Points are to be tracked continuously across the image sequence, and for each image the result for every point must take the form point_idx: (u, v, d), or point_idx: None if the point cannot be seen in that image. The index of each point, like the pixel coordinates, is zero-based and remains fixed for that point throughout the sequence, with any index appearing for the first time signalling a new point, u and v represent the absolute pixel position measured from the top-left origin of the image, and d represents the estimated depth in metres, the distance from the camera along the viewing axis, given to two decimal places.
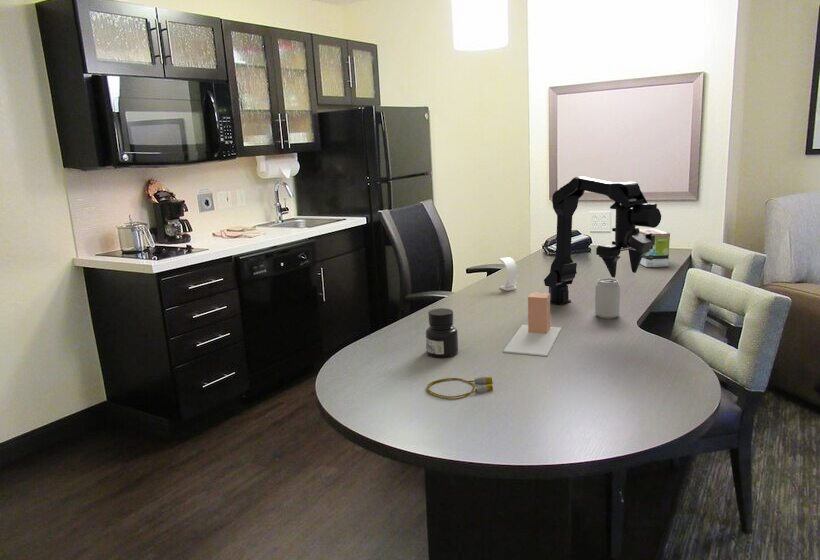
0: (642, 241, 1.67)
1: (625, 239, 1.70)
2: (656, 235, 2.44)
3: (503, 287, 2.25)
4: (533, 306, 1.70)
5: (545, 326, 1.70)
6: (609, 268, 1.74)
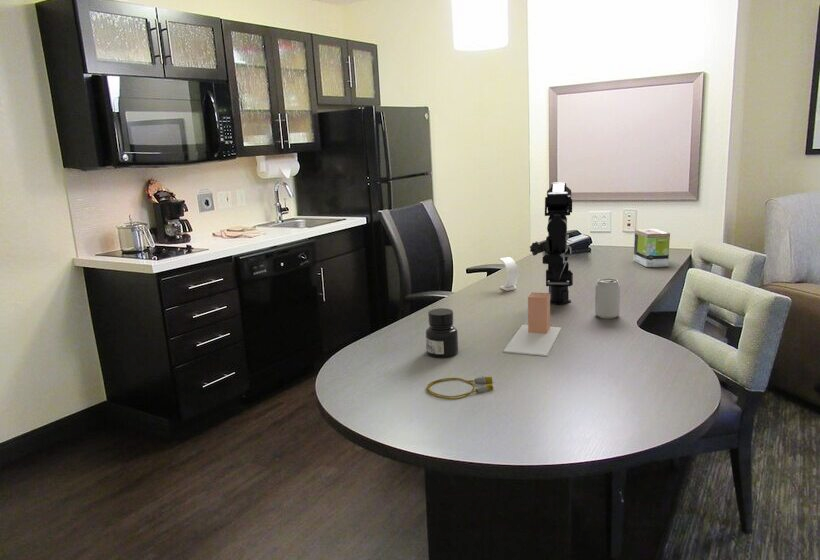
0: None
1: None
2: (656, 235, 2.44)
3: (503, 287, 2.25)
4: (533, 306, 1.70)
5: (545, 326, 1.70)
6: None
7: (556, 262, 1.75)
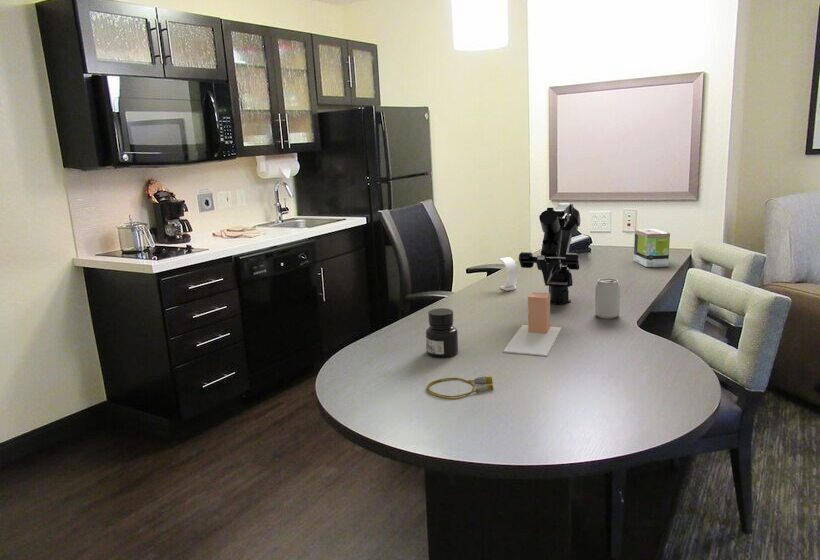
0: None
1: (560, 256, 1.87)
2: (656, 235, 2.44)
3: (503, 287, 2.25)
4: (533, 306, 1.70)
5: (545, 326, 1.70)
6: (550, 274, 1.81)
7: None
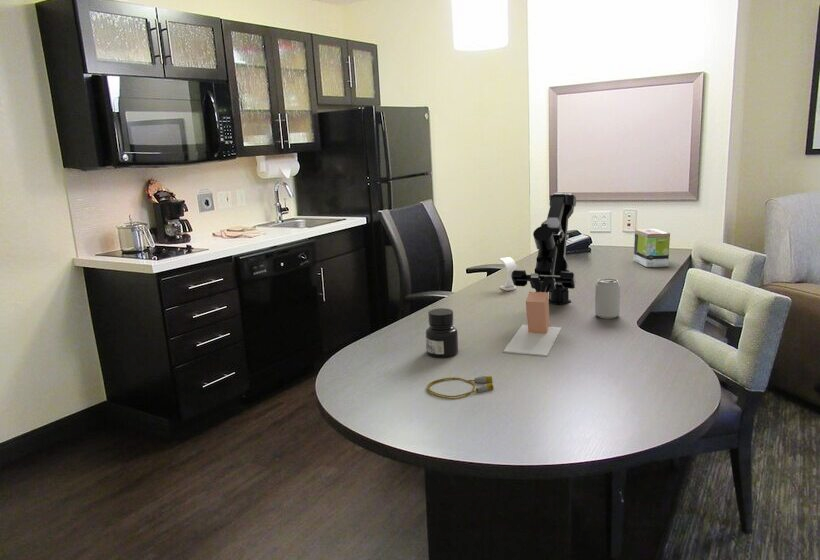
0: None
1: (555, 275, 1.79)
2: (656, 235, 2.44)
3: (503, 287, 2.25)
4: (532, 309, 1.68)
5: (545, 327, 1.70)
6: None
7: None
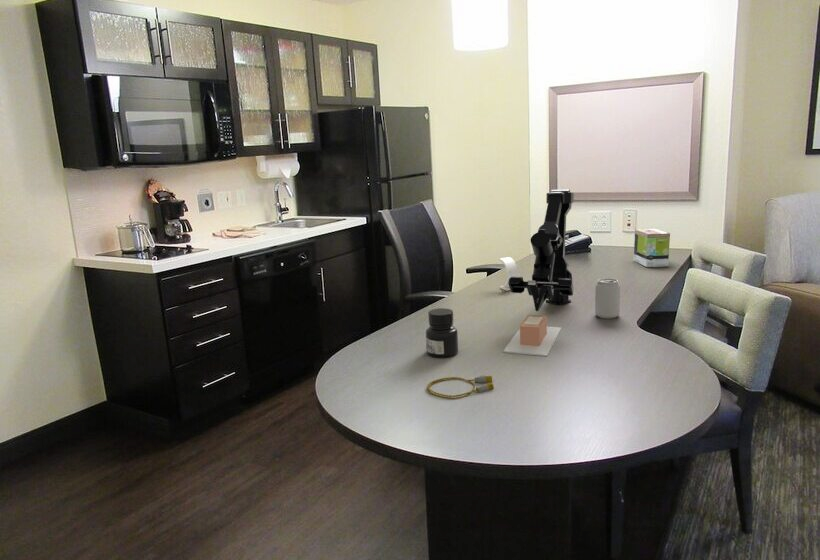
0: None
1: (552, 281, 1.76)
2: (656, 235, 2.44)
3: (503, 287, 2.25)
4: None
5: None
6: (542, 301, 1.70)
7: None
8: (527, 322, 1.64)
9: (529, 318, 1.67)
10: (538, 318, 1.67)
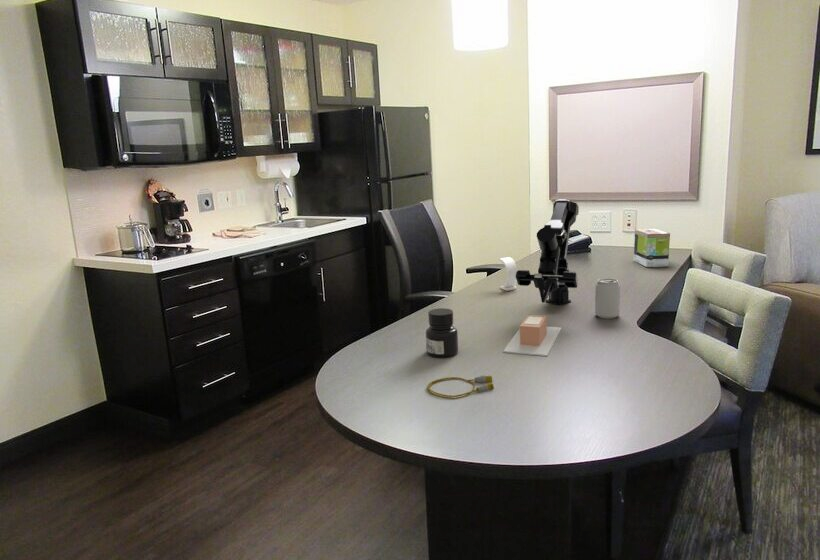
0: None
1: (557, 274, 1.84)
2: (656, 235, 2.44)
3: (503, 287, 2.25)
4: None
5: None
6: (547, 293, 1.78)
7: None
8: (527, 322, 1.64)
9: (529, 318, 1.67)
10: (538, 318, 1.67)
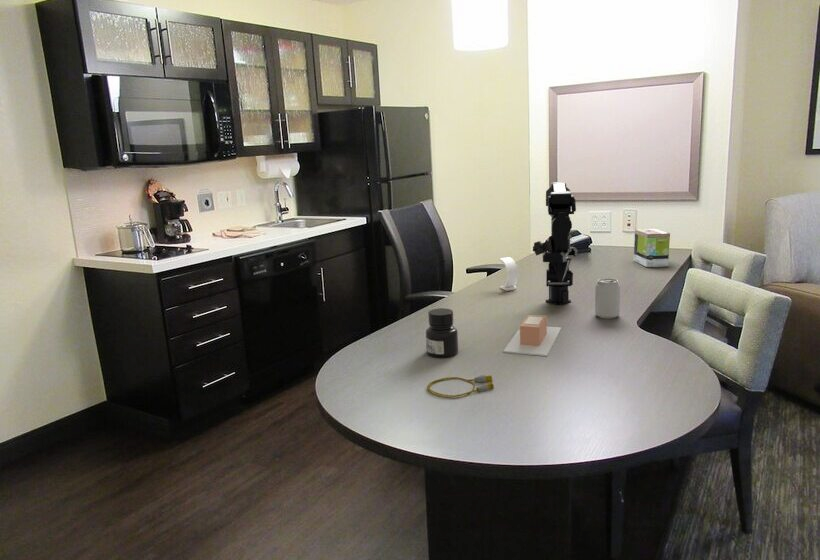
0: None
1: None
2: (656, 235, 2.44)
3: (503, 287, 2.25)
4: None
5: None
6: None
7: (556, 260, 1.73)
8: (527, 322, 1.64)
9: (529, 318, 1.67)
10: (538, 318, 1.67)
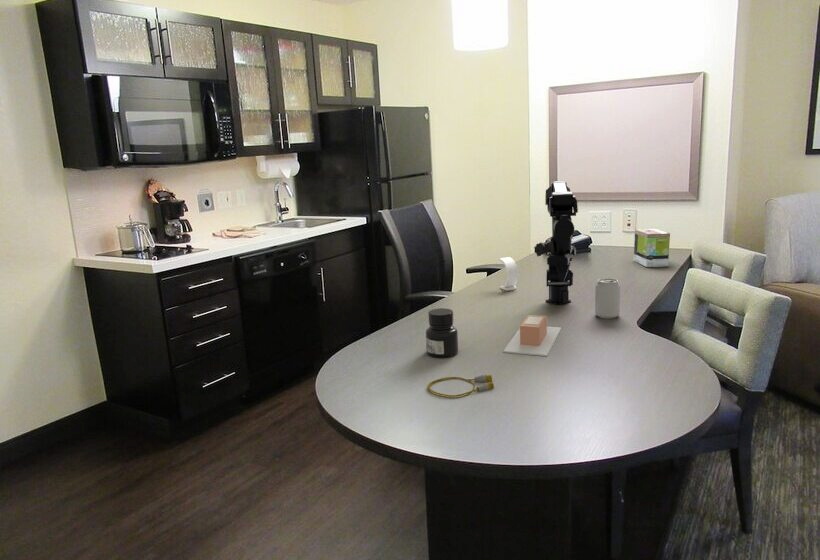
0: None
1: None
2: (656, 235, 2.44)
3: (503, 287, 2.25)
4: None
5: None
6: None
7: (561, 263, 1.73)
8: (527, 322, 1.64)
9: (529, 318, 1.67)
10: (538, 318, 1.67)
